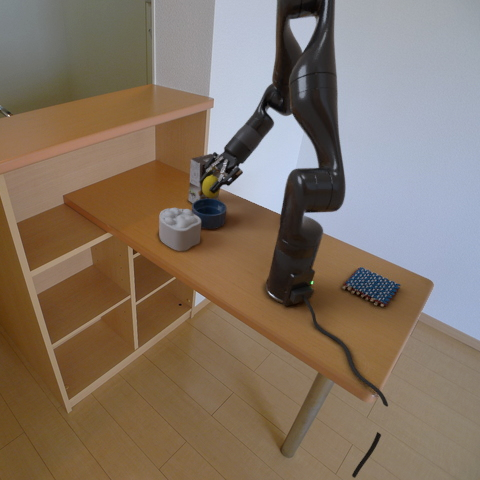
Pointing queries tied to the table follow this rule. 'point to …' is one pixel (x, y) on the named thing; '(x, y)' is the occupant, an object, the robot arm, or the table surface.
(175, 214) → the paw print block
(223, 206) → the bowl
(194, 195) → the coffee box
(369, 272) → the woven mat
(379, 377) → the table surface
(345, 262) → the table surface
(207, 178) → the lemon
